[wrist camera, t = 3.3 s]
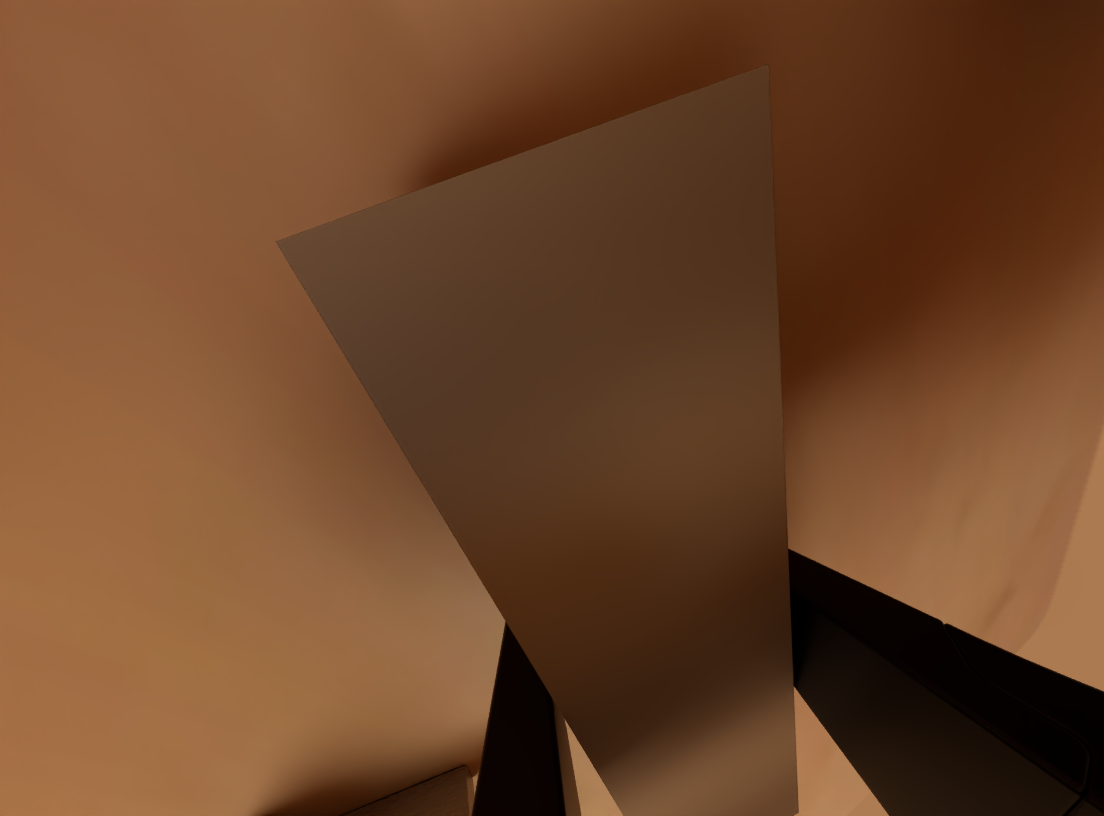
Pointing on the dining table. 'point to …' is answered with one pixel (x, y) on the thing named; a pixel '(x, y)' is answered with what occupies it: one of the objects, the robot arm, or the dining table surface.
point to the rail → (604, 426)
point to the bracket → (428, 798)
